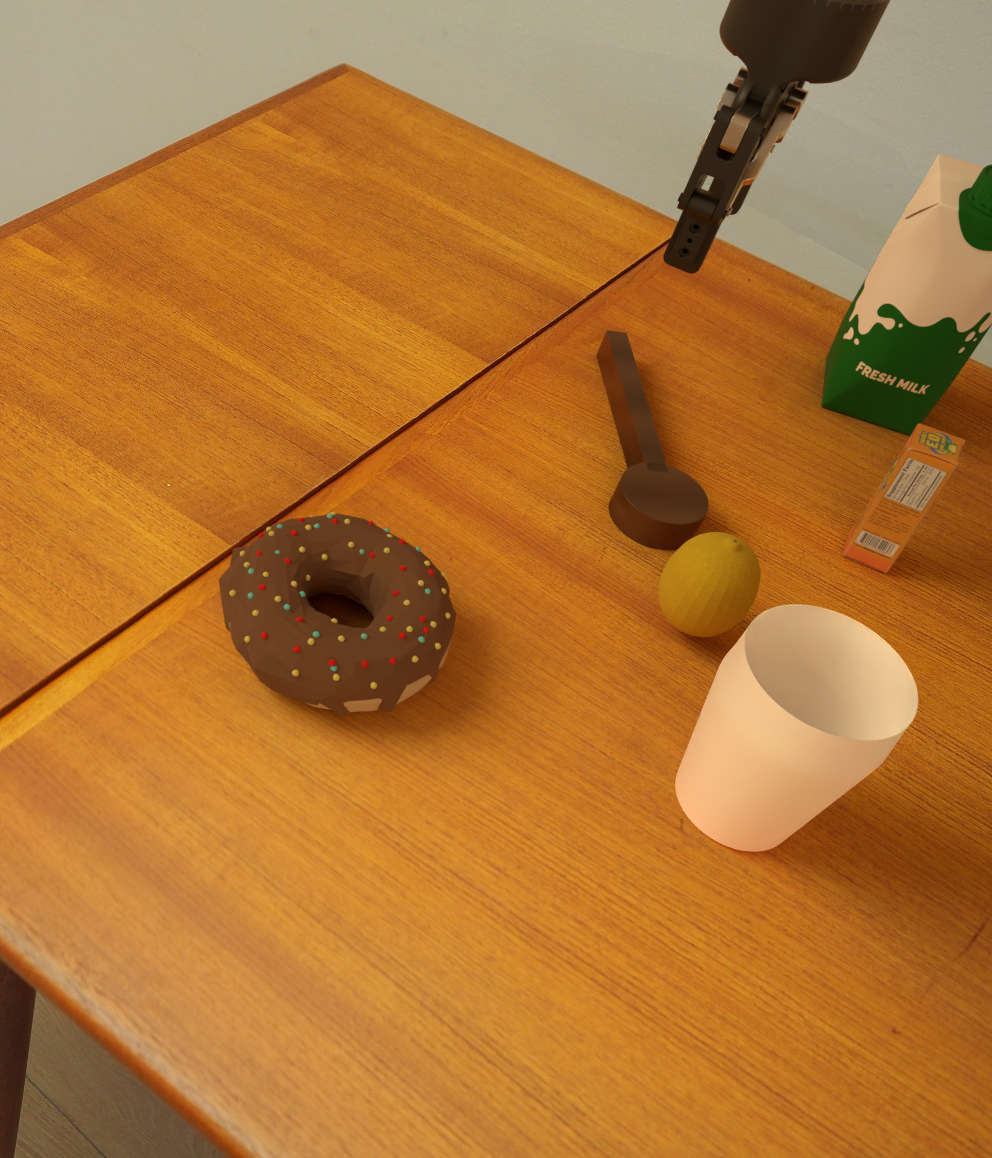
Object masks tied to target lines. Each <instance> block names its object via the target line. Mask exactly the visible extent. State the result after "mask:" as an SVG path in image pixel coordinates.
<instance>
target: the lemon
mask: <svg viewBox="0 0 992 1158" xmlns="http://www.w3.org/2000/svg"><path fill="white" fill-rule="evenodd" d="M761 572H762V571H761V567H760V562H759V559H758V557H757V555H756V553H755V552H754V550H753V548H751V547H750V546H749V544H748V543H746V541H744V539H741V538H739V537H737V536H736V535H733V534H731V533H727V532H721V531H710V532H703V533H700V534H698V535H696V536H695V535H694V537H693V538H691V539H689V540H688V541H686V542H685V543H684V544H683V545H682V546H681V547H679V548H677V549H676V550H675V552H673V554H671V556H670V557H669V559H668V560H667V561H666V563H665V565H664V567H663V569H662V572H661V574H660V577H659V580H658V582H657V601H658V605H659V608H660V611H661V613H662V615H663V616H664V618H665V620H666V621H667V622H668V623H669V624H670V625H671V627H673V628H675V629H676V630H677V631H679V632H680V633H683V634H685V635H688V636H691V637H698V638H709V637H716V636H719V635H722V634H724V633H727V632H729V631H730V630H732V629H733V628H734V627H735V626H737V625H738V624H740V622H742V620H743V619H744V618H745V617H746V616H747V615H748V613H749V611H750V610H751V608H752V606H753V605H754V603H755V601H756V599H757V596H758V592H759V589H760V583H761V576H762V575H761Z"/></svg>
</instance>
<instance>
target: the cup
mask: <svg viewBox="0 0 992 1158" xmlns="http://www.w3.org/2000/svg"><path fill="white" fill-rule="evenodd" d="M711 683H712V684H711V686H710V689H709V691H708V693H707V696H706V699H705V701H704V703H703V706H702V709H701V711H700V714H699V715H698V719H697V721H696V724H695V727H694V729H693V731H692V734H691V736H690V739H689V742H688V744H687V747H686V749H685V752H684V754H683V757H682V760H681V762H680V765H679V767H678V770H677V771H676V775H675V780H674V781H675V782H674V783H675V784H674V788H675V795H676V798H677V801H678V803H679V806H680V808H681V809H682V811H683V813H684V814H685V816H686V817H687V818H688V820H689V821H690V822H691V823H692V824H693V825H694V826H695V827H696V828H697V829H698V830H699V831H701V832H702V833H703V834H704V835H705V836H707V837H708V838H710V839H712V840H713V841H715V842H717V843H719V844H721V845H723V846H724V847H728V848H729V849H730V848H731V849H734V850H737V851H742V852H748V853H749V852H753V853H756V852H757V853H758V852H765V851H768V850H771V849H774V848H776V847H778V846H779V845H781V844H782V843H783V842H784V841H786V840H787V839H788V838H790V837H791V836H792V835H793V834H795V833H796V832H797V831H799V830H800V829H802V828H803V827H804V826H805V825H806V824H808V822H810V821H811V820H813V819H814V818H815V817H816V816H818V815H819V814H821V813H822V812H823V811H824V810H825V809H827V808H829V806H831V805H832V804H833V803H835V802H836V801H837V800H838V799H840V798H841V797H842V796H844V795H845V794H847V793H848V792H849V791H850V790H851V789H853V788H854V787H855V786H856V785H857V784H859V783H860V782H861V781H863V780H864V779H866V777H868V776H869V775H870V774H871V773H873V772H874V771H875V770H877V769H878V768H879V767H880V766H881V765H882V764H883V763H884V762H885V761H886V759H887V758H888V756H889V755H890V754H891V753H892V751H893V750H894V747H895V746H896V745H897V743H898V742H899V740H900V739H901V737H902V736H903V735H904V734H905V732H906V730H907V729H908V728H909V727H910V725H911V724H912V722H913V721H914V719H915V717H916V715H917V712H918V709H919V693H918V688H917V683H916V680H915V679H914V676H913V674H912V672H911V670H910V669H909V667H908V665H907V664H906V662H905V661H904V660H903V658H902V657H901V656H900V654H899V653H898V652H897V651H896V650H895V649H894V647H892V646H891V644H889V643H888V642H887V641H886V640H885V639H884V638H883V637H882V636H881V635H879V634H877V633H876V632H875V631H874V630H872V629H871V628H869V627H868V626H866V625H865V624H863V623H861V622H860V621H857V620H855V619H854V618H852V617H850V616H848V615H845V614H843V613H840V612H838V611H836V610H833V609H829V608H825V607H821V606H817V605H810V604H803V603H802V604H800V603H794V604H793V603H792V604H791V603H790V604H782V605H777V606H773V607H771V608H768V609H766V610H764V611H762V612H761V613H759V614H758V615H757V616H756V617H754V618H753V620H752V621H751V622H750V624H749V625H748V626H747V628H746V629H745V630H744V632H743V633H742V635H741V636H740V637H739V639H737V641H736V643H735V644H734V645H733V646H732V647H731V648H730V649H729V651H728V652H727V653H726V654H725V656H724V657H723V659H721V662H720V664H719V666H718V669H717V671H716V673H715V675H714V679H713V681H712V682H711Z"/></svg>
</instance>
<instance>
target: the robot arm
mask: <svg viewBox="0 0 992 1158" xmlns="http://www.w3.org/2000/svg"><path fill="white" fill-rule="evenodd" d="M890 2H891V0H729V2H728V5H727V6H726V9H725V12H724V15H723V17H722V19H721V22H720V24H719V30H718V32H719V38H720V41H721V43H722V44H723V46H724V47H725V49H726V50H727V51H728V52H729V53H730V54H731V55H732V56H733V57H737V58H738V59H739V60H740V61H741V62H742V63H743V64H744V66H745V67H743V66H741V67H740V69H739V70H738V72H737V75H736V76H735V78H734V81H733V82H728V83H727V85H726V87H725V89H724V90H723V93H722V94H721V97H720V99H719V100H718V102H717V107H716V112H715V114H714V117H713V122H712V124H711V126H710V128H709V130H708V131H707V134H706V136H705V138H704V139H703V142H702V144H701V145H700V147H699V150H698V151H697V156H696V163H695V164H694V167H693V169H692V172H691V174H690V176H689V178H688V181H687V183H686V186H685V187H684V189H683V192H680V194H679V196H678V198H677V202H678V204H677V206H676V208H677V209H678V210H681V211H682V212H681V214H680V216H679V219H678V220H677V223H676V225H675V228H674V230H673V232H672V235H671V237H670V239H669V241H668V244H667V246H666V248H665V251H664V253H663V256H662V257H663V259H662V260H663V262H664V263H665V264H666V265H668V266H670V267H672V268H675V269H677V270H680V271H682V272H684V273H687V274H691V275H692V274H696V273H698V272H699V271H700V269H701V267H702V266H703V264H704V263H705V260H706V258H707V256H708V254H709V251H710V249H711V247H712V245H713V243H714V241H715V240H716V239H715V238H716V237H717V235H718V233H719V230H720V228H721V227H722V226H721V225H722V224H723V222H724V221H725V219H726V218H727V217H728V218H729V216H734V215H736V214H738V213H739V211H740V210H741V208H742V207H743V205H744V202H745V200H746V198H747V196H748V194H749V192H750V190H751V188H752V185H753V183H755V182H756V180H757V178H758V176H759V174H760V173H761V170H762V168H763V166H764V165H765V163H766V161H767V159H768V157H769V155H770V154H772V153H773V152H774V150H775V148H776V145H777V144H781V143H782V142H783V139H784V138H785V137H786V134H787V133H788V130H789V129H790V127H791V125H792V124H793V121H794V120H796V119H797V117H798V114H799V113H800V111H801V109H802V107H803V105H804V104H805V102H806V100H807V98H808V95H809V92H810V91H809V90H806V89H804V86H805V84H806V82H807V83H809V84H812V85H824V84H832V83H836V82H837V83H838V82H839V81H842V80H844V79H846V78H848V77H849V76H850V75H852V74H853V73H854V72H855V70H856V69H857V68H858V66H859V64H860V62H861V60H862V58H863V56H864V54H865V52H866V50H867V47H868V46H869V44H870V42H871V39H872V37H873V36H874V34H875V32H876V29H877V28H878V26H879V24H880V22H881V20H882V18H883V16H884V14H885V12H886V10H887V8H888V6H889V4H890ZM708 176H709V177H711V178H712V181H711V183H710V185H709V188H708V190H706V189H704V188H703V187H704V184H705V182H706V180H707V179H708Z"/></svg>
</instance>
